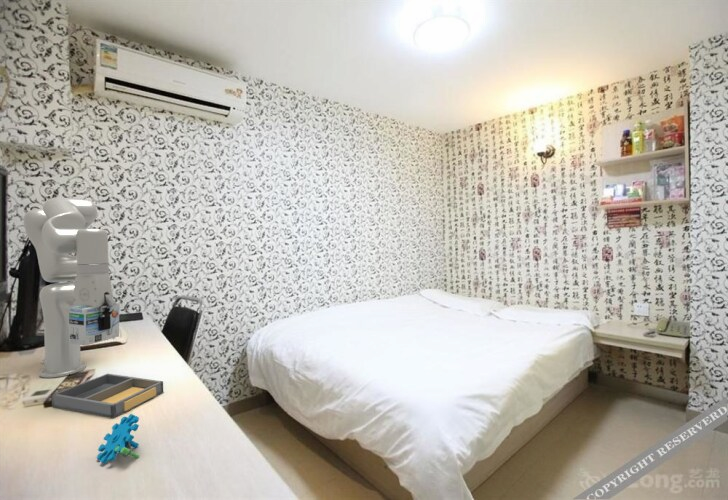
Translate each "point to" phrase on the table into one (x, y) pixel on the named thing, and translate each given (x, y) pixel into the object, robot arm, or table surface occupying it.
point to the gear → (119, 440)
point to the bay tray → (107, 395)
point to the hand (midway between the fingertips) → (95, 328)
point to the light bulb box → (90, 325)
